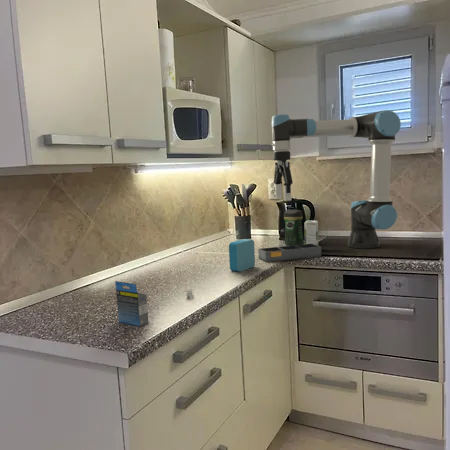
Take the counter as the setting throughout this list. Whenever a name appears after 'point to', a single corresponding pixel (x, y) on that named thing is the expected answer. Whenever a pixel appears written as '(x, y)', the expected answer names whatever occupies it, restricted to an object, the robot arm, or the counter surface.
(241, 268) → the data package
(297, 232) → the coffee jar
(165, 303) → the counter surface
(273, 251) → the rack
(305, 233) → the syrup box
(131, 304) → the label tape cartridge
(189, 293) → the adhesive hook
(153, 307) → the counter surface
